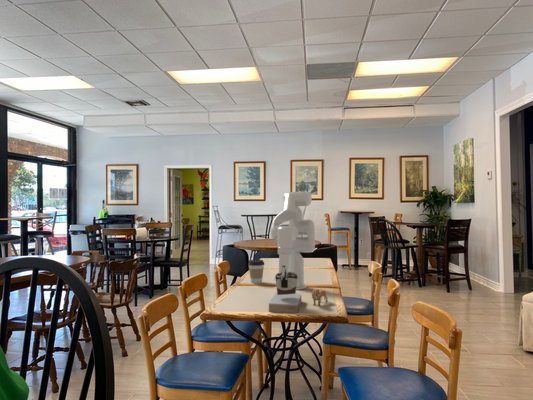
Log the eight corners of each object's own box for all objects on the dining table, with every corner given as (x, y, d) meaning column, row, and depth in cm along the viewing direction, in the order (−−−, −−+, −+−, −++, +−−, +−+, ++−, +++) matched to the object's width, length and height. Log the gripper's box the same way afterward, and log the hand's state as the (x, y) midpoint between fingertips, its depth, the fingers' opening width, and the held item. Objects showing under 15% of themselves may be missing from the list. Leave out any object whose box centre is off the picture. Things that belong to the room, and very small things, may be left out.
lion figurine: (320, 308, 172) (319, 290, 173) (310, 307, 175) (309, 289, 175) (329, 301, 185) (328, 284, 186) (319, 299, 188) (319, 283, 188)
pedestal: (275, 300, 188) (275, 293, 188) (301, 301, 185) (301, 293, 185) (268, 311, 168) (268, 303, 168) (297, 312, 166) (297, 304, 166)
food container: (295, 288, 183) (295, 270, 181) (298, 293, 177) (298, 275, 175) (272, 290, 181) (272, 272, 179) (274, 295, 175) (274, 276, 173)
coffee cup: (265, 280, 237) (265, 259, 237) (264, 284, 226) (263, 261, 226) (249, 280, 238) (249, 259, 238) (246, 284, 227) (246, 261, 227)
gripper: (280, 248, 186) (280, 282, 186) (274, 253, 169) (275, 289, 169) (294, 249, 185) (294, 282, 185) (290, 253, 168) (290, 290, 168)
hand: (285, 285), depth 177 cm, fingers closed on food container, 6 cm apart
